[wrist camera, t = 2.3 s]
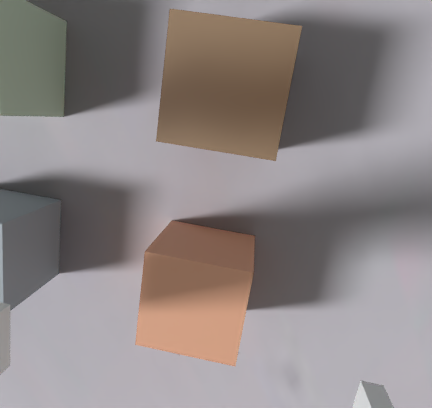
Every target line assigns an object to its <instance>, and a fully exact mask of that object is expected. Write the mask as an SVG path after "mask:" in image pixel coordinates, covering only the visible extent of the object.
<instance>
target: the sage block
mask: <svg viewBox="0 0 432 408" xmlns="http://www.w3.org/2000/svg"><path fill="white" fill-rule="evenodd" d="M66 31H67V21H65V20H63V19H61V18H59V17H57V16H55V15H53V14H51V13H49V12H47V11H45V10H43V9H41V8H39V7H37V6H35V5H34V4H32V3H30V2H28V1H26V0H0V116H51V117H64V96H65V64H66Z"/></svg>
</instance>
